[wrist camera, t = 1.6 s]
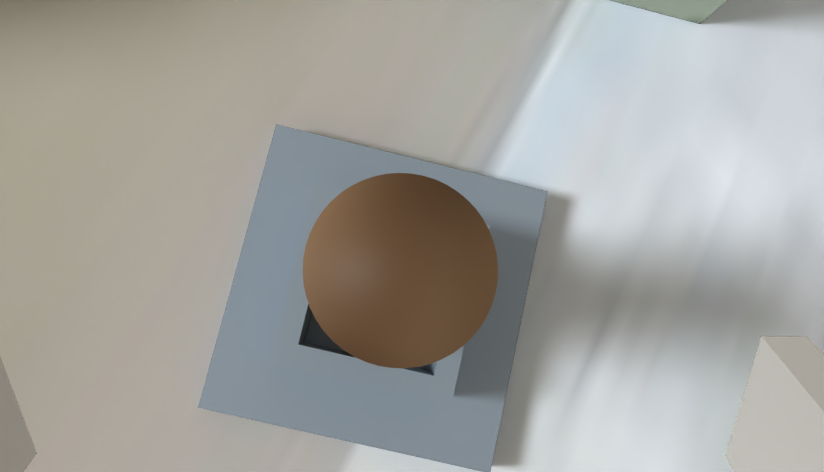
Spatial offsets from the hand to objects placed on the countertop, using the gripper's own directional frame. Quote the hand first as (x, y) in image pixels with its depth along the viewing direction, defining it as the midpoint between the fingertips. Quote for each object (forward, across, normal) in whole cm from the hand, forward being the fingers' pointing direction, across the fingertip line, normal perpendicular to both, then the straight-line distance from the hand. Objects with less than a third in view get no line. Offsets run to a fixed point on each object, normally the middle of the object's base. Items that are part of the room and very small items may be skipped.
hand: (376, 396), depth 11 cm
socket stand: (+18, -1, -10) cm, 21 cm away
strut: (+17, -1, -9) cm, 19 cm away
